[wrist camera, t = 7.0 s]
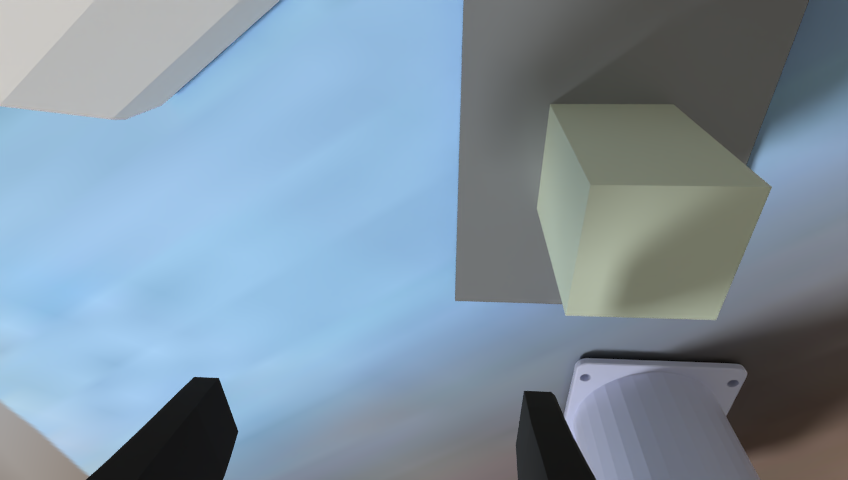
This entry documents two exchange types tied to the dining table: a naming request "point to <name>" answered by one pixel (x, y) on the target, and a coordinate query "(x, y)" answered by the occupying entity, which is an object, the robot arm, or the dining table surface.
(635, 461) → the robot arm
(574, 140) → the sage block
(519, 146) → the slate board
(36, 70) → the crystal
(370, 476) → the dining table surface
